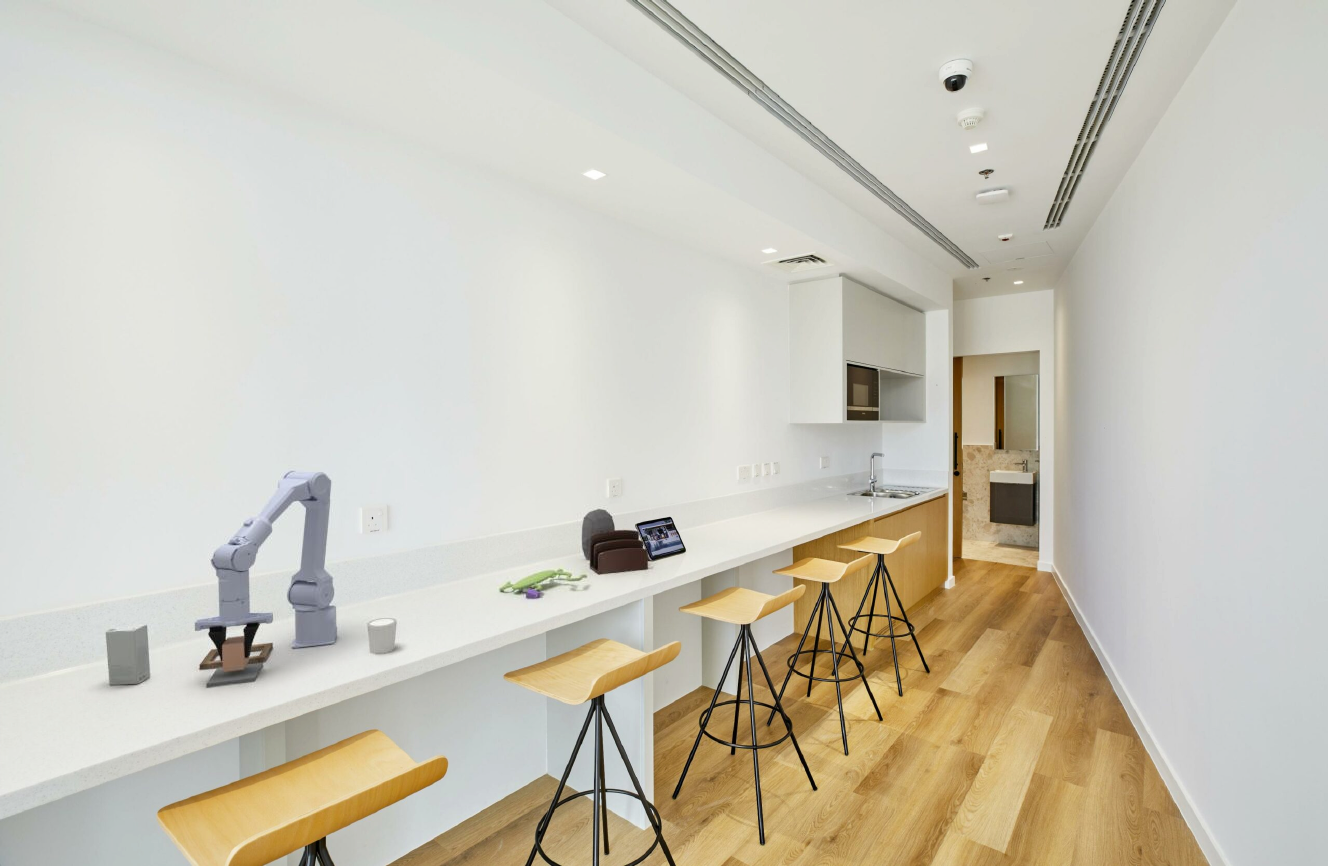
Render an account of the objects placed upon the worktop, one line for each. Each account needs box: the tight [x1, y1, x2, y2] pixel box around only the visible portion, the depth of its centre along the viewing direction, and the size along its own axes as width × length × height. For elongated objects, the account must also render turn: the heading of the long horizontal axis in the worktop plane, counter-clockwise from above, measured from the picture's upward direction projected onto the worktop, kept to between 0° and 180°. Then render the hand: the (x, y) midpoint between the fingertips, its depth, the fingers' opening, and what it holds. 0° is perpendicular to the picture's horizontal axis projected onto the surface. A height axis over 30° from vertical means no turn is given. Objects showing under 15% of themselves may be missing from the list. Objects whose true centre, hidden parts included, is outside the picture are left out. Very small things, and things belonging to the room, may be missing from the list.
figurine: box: [499, 568, 588, 599], centre depth 218 cm, size 18×27×6 cm
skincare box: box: [105, 624, 151, 686], centre depth 143 cm, size 6×4×12 cm
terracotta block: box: [222, 635, 249, 672], centre depth 146 cm, size 4×5×6 cm
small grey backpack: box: [581, 508, 616, 560], centre depth 261 cm, size 15×8×20 cm, turn 130°
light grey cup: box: [366, 617, 398, 655], centre depth 163 cm, size 7×7×7 cm
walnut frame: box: [199, 642, 274, 671], centre depth 157 cm, size 13×10×1 cm
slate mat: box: [205, 662, 264, 688], centre depth 146 cm, size 9×9×1 cm
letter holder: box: [589, 529, 649, 576], centre depth 245 cm, size 10×20×14 cm, turn 115°
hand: (235, 657), depth 146 cm, fingers closed on terracotta block, 4 cm apart
